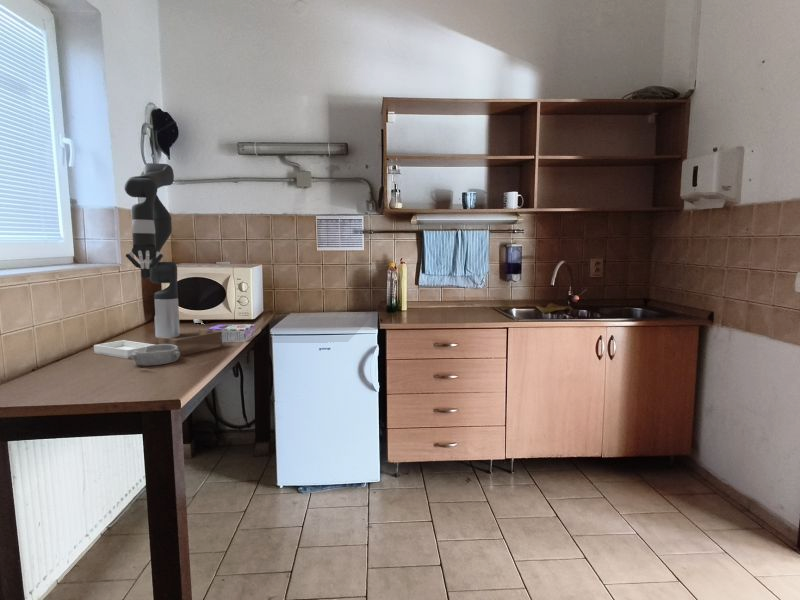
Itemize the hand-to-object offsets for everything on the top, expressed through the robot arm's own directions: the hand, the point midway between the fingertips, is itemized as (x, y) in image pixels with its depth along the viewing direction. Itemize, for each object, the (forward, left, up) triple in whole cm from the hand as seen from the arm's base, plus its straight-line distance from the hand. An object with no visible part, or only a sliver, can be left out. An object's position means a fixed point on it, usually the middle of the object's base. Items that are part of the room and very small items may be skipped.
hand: (146, 278), depth 173 cm
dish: (+20, -11, -28) cm, 36 cm away
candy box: (+5, +25, -24) cm, 35 cm away
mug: (-30, +49, -28) cm, 64 cm away
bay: (+12, +7, -27) cm, 31 cm away
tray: (-3, -8, -27) cm, 28 cm away
